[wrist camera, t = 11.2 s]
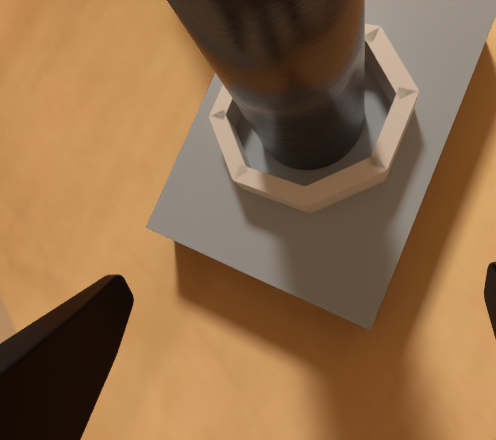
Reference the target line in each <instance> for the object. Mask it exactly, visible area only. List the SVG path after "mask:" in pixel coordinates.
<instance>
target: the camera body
mask: <svg viewBox="0 0 496 440" xmlns="http://www.w3.org/2000/svg"><path fill="white" fill-rule="evenodd" d="M495 17H496V0H365V116H364V125H363V130H362V133H361V135H360V137H359V139H358V141H357V143H356V144H355V146H354V147H353V148H352V149H351V151H350V152H349V153H348V154H347V155H345V156H344V157H343V158H342V159H340V160H339V161H337V162H336V163H334V164H332V165H330V166H327V167H324V168H320V169H316V170H297V169H293V168H289V167H287V166H285V165H283V164H281V163H279V162H278V161H277V160H275V159H274V158H273V157H272V156H271V155H270V154H269V152H268V151H267V149H266V148H265V146H264V145H263V143H262V142H261V140H260V139H259V137H258V136H257V134H256V133H255V131H254V130H253V128H252V127H251V125H250V124H249V122H248V121H247V119H246V118H245V116H244V115H243V113H242V112H241V110H240V109H239V107H238V106H237V104H236V103H235V101H234V100H233V98H232V97H231V95H230V94H229V92H228V91H227V89H226V88H225V86H224V85H223V83H222V82H221V80H220V79H219V77H218V76H217V74H216V73H215V74H214V77H213V79H212V81H211V83H210V86H209V88H208V90H207V92H206V94H205V97H204V99H203V101H202V103H201V106H200V108H199V110H198V112H197V115H196V117H195V119H194V121H193V123H192V126H191V128H190V130H189V132H188V135H187V137H186V139H185V141H184V144H183V146H182V148H181V150H180V152H179V155H178V157H177V159H176V161H175V164H174V166H173V168H172V170H171V173H170V175H169V177H168V179H167V182H166V184H165V186H164V188H163V190H162V193H161V195H160V197H159V199H158V202H157V204H156V206H155V208H154V211H153V213H152V215H151V217H150V219H149V222H148V224H147V226H146V228H148V229H150V230H152V231H154V232H157V233H159V234H161V235H163V236H165V237H167V238H170V239H172V240H174V241H176V242H178V243H180V244H183V245H185V246H187V247H189V248H191V249H193V250H196V251H198V252H200V253H202V254H204V255H206V256H209V257H211V258H213V259H215V260H217V261H220V262H222V263H224V264H226V265H228V266H230V267H233V268H235V269H237V270H239V271H241V272H243V273H246V274H248V275H250V276H252V277H254V278H256V279H259V280H261V281H263V282H265V283H267V284H269V285H272V286H274V287H276V288H278V289H280V290H282V291H285V292H287V293H289V294H291V295H293V296H296V297H298V298H300V299H302V300H304V301H306V302H309V303H311V304H313V305H315V306H317V307H319V308H322V309H324V310H326V311H328V312H330V313H332V314H335V315H337V316H339V317H341V318H343V319H345V320H348V321H350V322H352V323H354V324H356V325H358V326H361V327H363V328H365V329H367V330H369V331H371V329H372V326H373V324H374V321H375V319H376V316H377V314H378V311H379V309H380V306H381V304H382V301H383V299H384V296H385V294H386V291H387V289H388V286H389V284H390V281H391V278H392V276H393V273H394V271H395V268H396V266H397V263H398V261H399V258H400V256H401V253H402V251H403V248H404V246H405V243H406V241H407V238H408V236H409V233H410V231H411V228H412V226H413V223H414V221H415V218H416V216H417V213H418V210H419V208H420V205H421V203H422V200H423V198H424V195H425V193H426V190H427V188H428V185H429V183H430V180H431V178H432V175H433V173H434V170H435V168H436V165H437V163H438V160H439V158H440V155H441V153H442V150H443V148H444V145H445V142H446V140H447V137H448V135H449V132H450V130H451V127H452V125H453V122H454V120H455V117H456V115H457V112H458V110H459V107H460V105H461V102H462V100H463V97H464V95H465V92H466V90H467V87H468V85H469V82H470V80H471V77H472V74H473V72H474V69H475V67H476V64H477V62H478V59H479V57H480V54H481V52H482V49H483V47H484V44H485V42H486V39H487V37H488V34H489V32H490V29H491V27H492V24H493V22H494V19H495Z"/></svg>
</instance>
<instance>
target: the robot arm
mask: <svg viewBox="0 0 496 440" xmlns="http://www.w3.org/2000/svg"><path fill="white" fill-rule="evenodd" d="M484 299H485V303H486V307H487V310H488V314H489V317H490V321H491V324H492V328H493V331H494V335H495V339H496V262H492V263H490V264H489V266H488V269H487V275H486V282H485V288H484ZM133 302H134V298H133V294H132V292H131V290H130V288H129V287H128V285H127V283H126V281H125V279H124V277H123V276H121V275H118V274H117V275H106V276H104V277H103V278H101V279H100V280H98V281H97V282H95V283H94V284H92V285H91V286H89V287H87V288H86V289H84V290H83V291H81V292H80V293H78V294H77V295H75V296H73V297H72V298H70V299H69V300H67V301H66V302H64V303H63V304H61V305H59V306H58V307H56V308H55V309H53V310H52V311H50V312H49V313H47V314H46V315H44V316H42V317H41V318H39V319H38V320H36V321H35V322H33V323H32V324H30V325H28V326H27V327H25V328H24V329H22V330H21V331H19V332H18V333H16V334H15V335H13V336H12V337H10V338H8V339H7V340H5V341H4V342H2V343H1V344H0V440H80V439H81V437H82V435H83V432H84V430H85V428H86V426H87V423H88V421H89V419H90V416H91V414H92V412H93V409H94V407H95V405H96V402H97V400H98V398H99V395H100V393H101V391H102V388H103V386H104V384H105V381H106V379H107V377H108V374H109V372H110V370H111V367H112V365H113V363H114V360H115V358H116V355H117V353H118V350H119V347H120V344H121V341H122V338H123V335H124V332H125V328H126V325H127V322H128V319H129V316H130V313H131V310H132V307H133Z"/></svg>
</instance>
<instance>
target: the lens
mask: <svg viewBox="0 0 496 440" xmlns="http://www.w3.org/2000/svg"><path fill="white" fill-rule="evenodd" d="M167 1H168V3H169V4H170V6H171V7H172V9H173V10H174V12H175V13H176V15H177V16H178V18H179V19H180V21H181V22H182V24H183V25H184V27H185V28H186V30H187V31H188V33H189V34H190V36H191V37H192V39H193V40H194V42H195V43H196V45H197V46H198V48H199V49H200V51H201V52H202V54H203V55H204V56H205V58H206V59H207V61H208V62H209V64H210V65H211V67H212V68H213V70H214V71H215V73H216V74H217V76H218V77H219V79H220V80H221V82H222V83H223V85H224V86H225V88H226V89H227V91H228V92H229V94H230V95H231V97H232V98H233V100H234V101H235V103H236V104H237V106H238V107H239V109H240V110H241V112H242V113H243V115H244V116H245V118H246V119H247V121H248V122H249V124H250V125H251V127H252V128H253V130H254V131H255V133H256V134H257V136H258V137H259V139H260V140H261V142H262V143H263V145H264V146H265V148H266V149H267V151H268V152H269V154H270V155H271V156H272V157H273V158H274V159H275V160H277V161H278V162H279V163H281V164H283V165H285V166H287V167H289V168H293V169H297V170H316V169H320V168H324V167H327V166H330V165H332V164H334V163H336V162H337V161H339V160H340V159H342V158H343V157H344V156H345V155H347V154H348V153H349V152H350V151H351V149H352V148H353V147H354V146H355V144H356V143H357V141H358V139H359V137H360V135H361V133H362V130H363V125H364V116H365V0H167Z"/></svg>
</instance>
